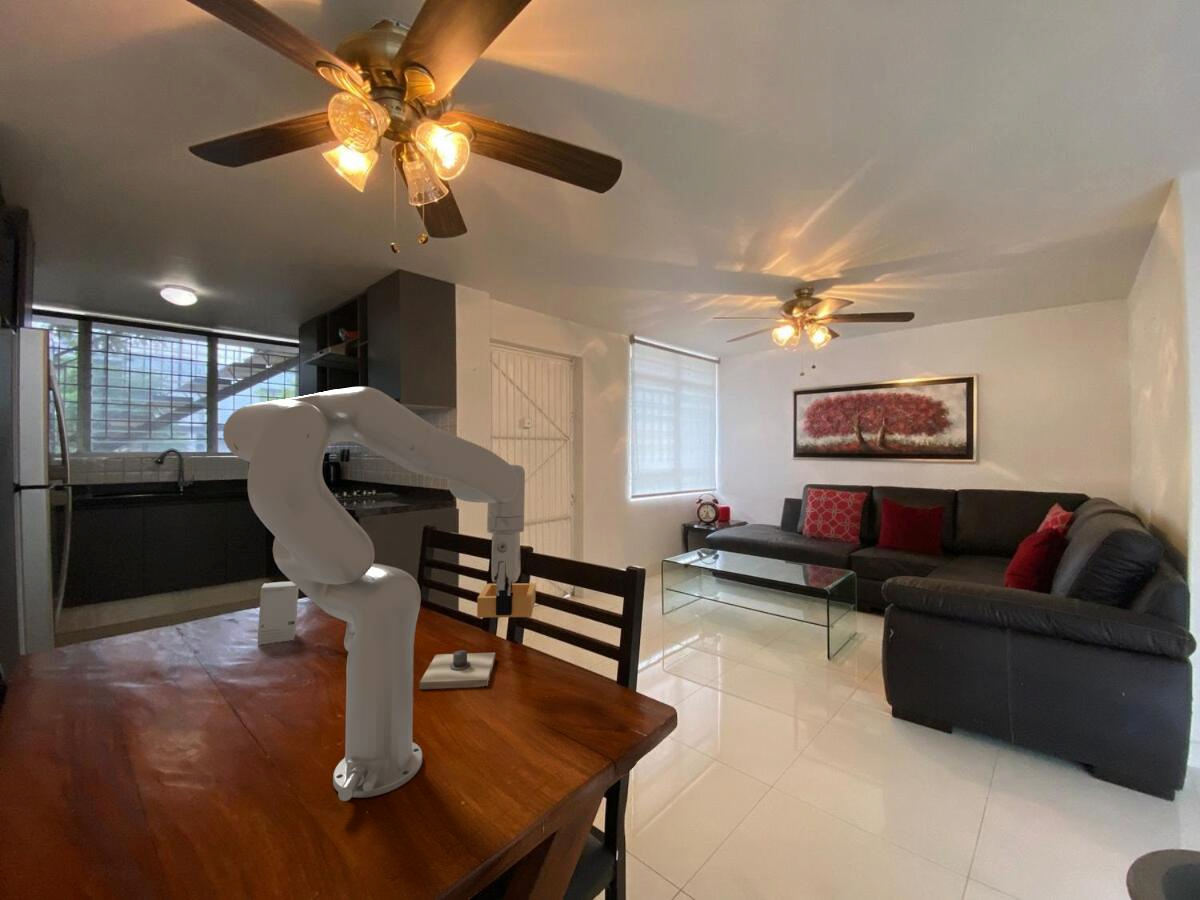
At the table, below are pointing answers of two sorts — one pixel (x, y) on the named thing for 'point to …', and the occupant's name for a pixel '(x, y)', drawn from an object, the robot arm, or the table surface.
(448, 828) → the table surface
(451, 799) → the table surface
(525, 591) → the tan square frame
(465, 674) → the board
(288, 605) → the skincare box
